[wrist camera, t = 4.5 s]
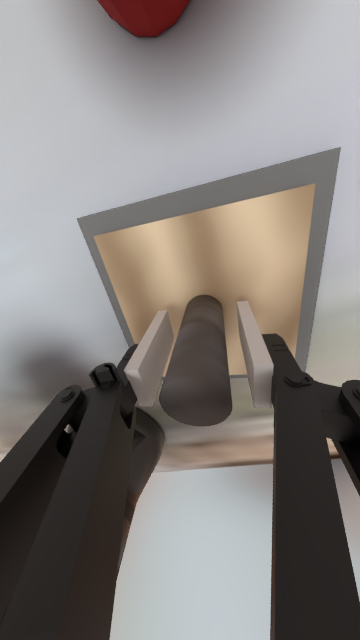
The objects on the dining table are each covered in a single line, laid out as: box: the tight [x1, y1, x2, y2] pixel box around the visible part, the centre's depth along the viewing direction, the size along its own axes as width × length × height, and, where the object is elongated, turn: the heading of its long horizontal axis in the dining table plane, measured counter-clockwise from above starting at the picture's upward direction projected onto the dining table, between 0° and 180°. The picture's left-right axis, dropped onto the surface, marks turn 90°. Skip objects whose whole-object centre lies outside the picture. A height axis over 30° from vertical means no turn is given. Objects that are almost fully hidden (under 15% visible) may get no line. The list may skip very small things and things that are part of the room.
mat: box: [77, 147, 341, 379], centre depth 17 cm, size 18×18×1 cm
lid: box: [94, 184, 315, 426], centre depth 12 cm, size 15×15×10 cm
